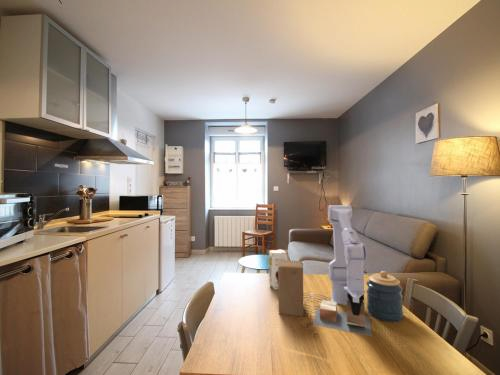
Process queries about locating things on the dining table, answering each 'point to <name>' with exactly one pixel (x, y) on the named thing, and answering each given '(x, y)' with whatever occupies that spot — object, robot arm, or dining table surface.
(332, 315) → the ash block
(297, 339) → the dining table surface
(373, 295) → the canister
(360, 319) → the walnut block
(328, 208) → the robot arm
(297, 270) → the wooden block
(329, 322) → the felt mat
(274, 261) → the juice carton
